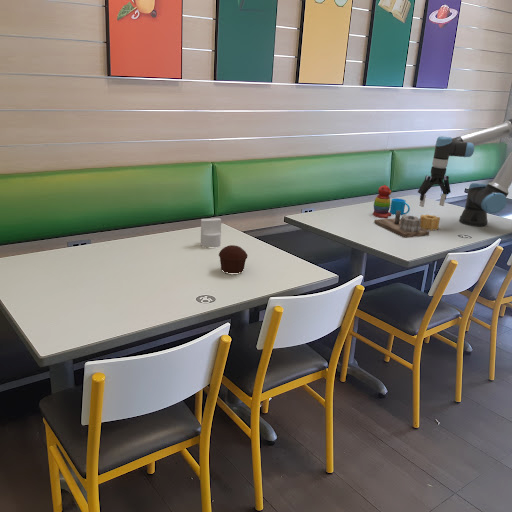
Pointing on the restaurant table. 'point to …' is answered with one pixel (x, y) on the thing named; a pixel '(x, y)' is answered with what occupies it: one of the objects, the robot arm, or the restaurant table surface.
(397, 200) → the mug
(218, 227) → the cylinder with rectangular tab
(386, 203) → the stacking bear
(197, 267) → the restaurant table surface
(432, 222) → the ochre gear
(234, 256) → the muffin
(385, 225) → the gear board
